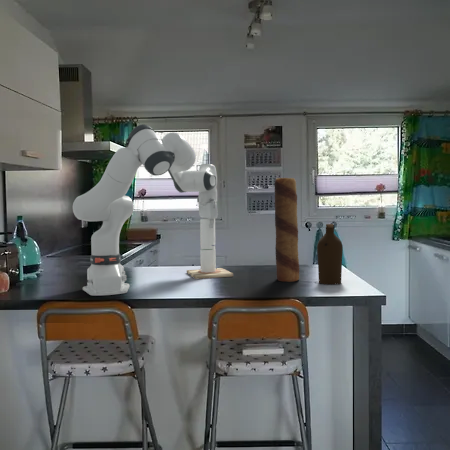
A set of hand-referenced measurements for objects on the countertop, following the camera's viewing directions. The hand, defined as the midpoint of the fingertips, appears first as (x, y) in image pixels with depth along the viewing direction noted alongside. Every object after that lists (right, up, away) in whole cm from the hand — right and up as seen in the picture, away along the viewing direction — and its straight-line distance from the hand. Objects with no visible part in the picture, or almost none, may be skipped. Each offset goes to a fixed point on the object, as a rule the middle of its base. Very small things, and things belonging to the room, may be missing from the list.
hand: (208, 227), depth 224 cm
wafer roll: (+35, -23, -16) cm, 45 cm away
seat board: (0, -23, +1) cm, 23 cm away
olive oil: (+53, -24, -24) cm, 62 cm away
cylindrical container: (0, -21, +1) cm, 21 cm away
